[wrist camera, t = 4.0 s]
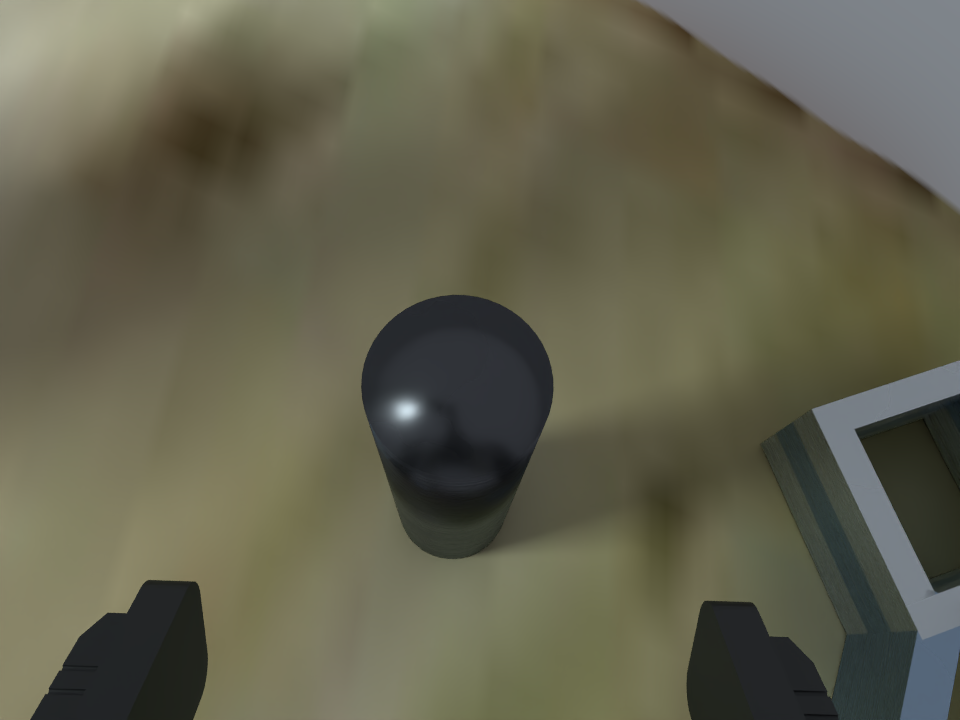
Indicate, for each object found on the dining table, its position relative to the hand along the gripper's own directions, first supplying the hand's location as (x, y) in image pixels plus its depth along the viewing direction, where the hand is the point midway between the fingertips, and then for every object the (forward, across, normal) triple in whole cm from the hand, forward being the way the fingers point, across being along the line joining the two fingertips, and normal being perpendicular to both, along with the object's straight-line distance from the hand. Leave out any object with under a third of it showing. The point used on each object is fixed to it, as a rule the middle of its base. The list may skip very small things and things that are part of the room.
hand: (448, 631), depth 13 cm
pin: (+9, 0, +4) cm, 10 cm away
